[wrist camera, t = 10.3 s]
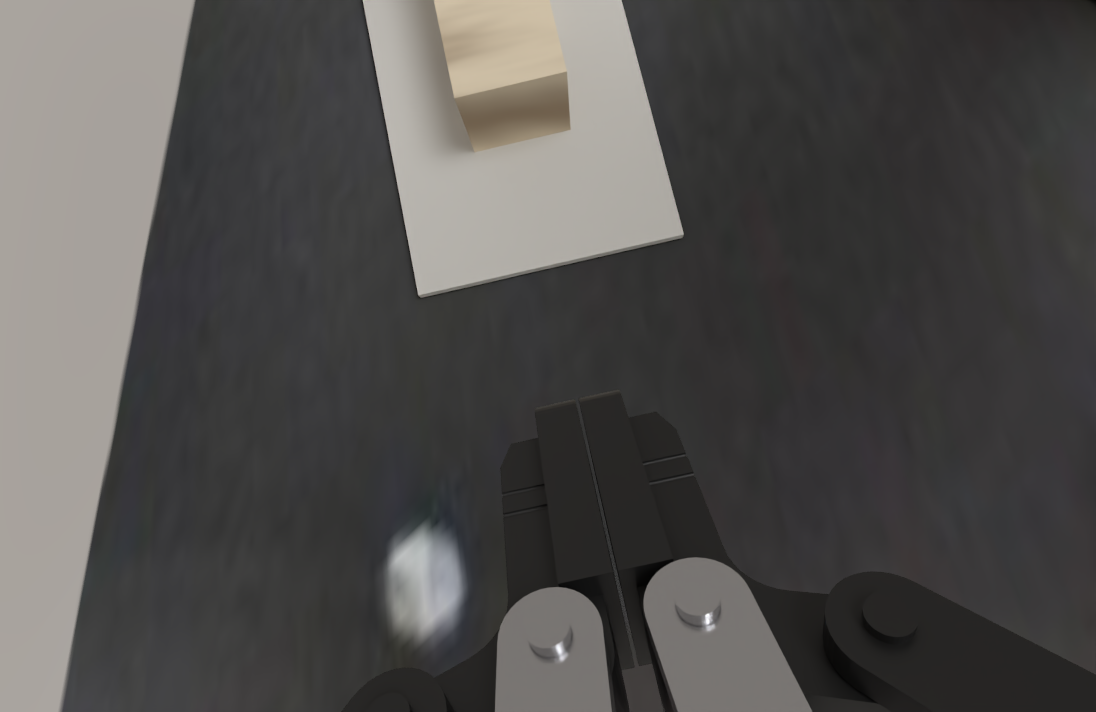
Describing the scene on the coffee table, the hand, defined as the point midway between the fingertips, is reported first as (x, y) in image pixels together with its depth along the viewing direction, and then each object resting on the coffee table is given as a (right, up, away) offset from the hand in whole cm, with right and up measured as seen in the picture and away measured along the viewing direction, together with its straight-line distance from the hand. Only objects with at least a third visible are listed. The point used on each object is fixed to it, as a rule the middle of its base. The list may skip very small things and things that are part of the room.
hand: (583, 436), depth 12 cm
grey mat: (-3, +18, +30) cm, 35 cm away
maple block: (-2, +15, +25) cm, 29 cm away
